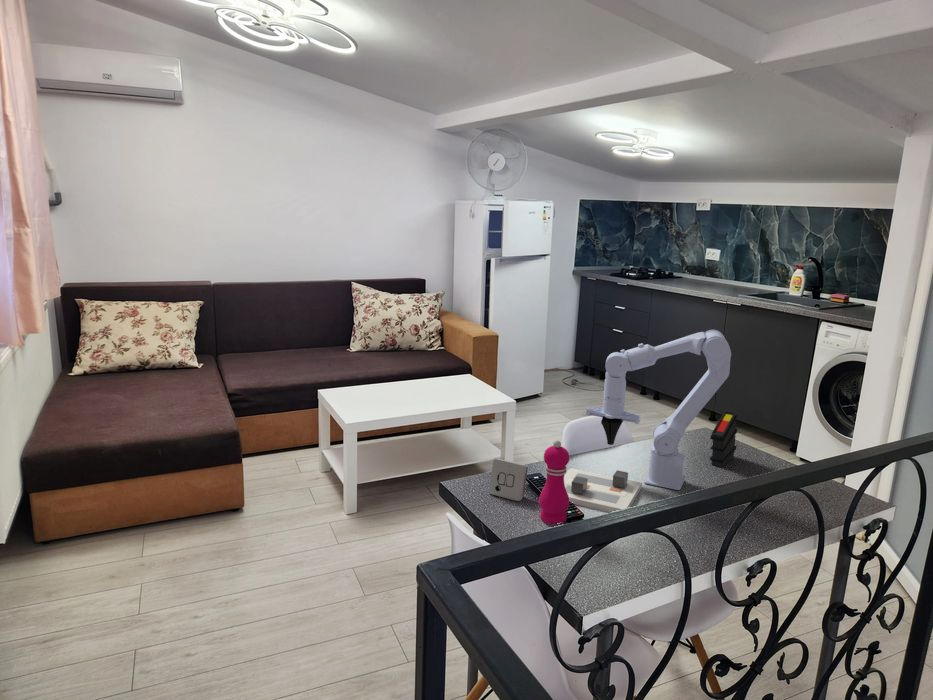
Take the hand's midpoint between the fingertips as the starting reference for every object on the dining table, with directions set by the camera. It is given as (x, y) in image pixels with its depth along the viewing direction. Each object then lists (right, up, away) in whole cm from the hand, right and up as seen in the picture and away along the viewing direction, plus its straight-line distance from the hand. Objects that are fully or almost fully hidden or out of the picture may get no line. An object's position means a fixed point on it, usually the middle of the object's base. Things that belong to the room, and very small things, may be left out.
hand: (610, 443), depth 182 cm
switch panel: (-6, -12, -9) cm, 16 cm away
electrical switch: (-29, -12, -11) cm, 33 cm away
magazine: (+36, -8, +13) cm, 39 cm away
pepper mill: (-19, -15, -24) cm, 34 cm away
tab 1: (-11, -10, -12) cm, 19 cm away
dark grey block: (+1, -10, -8) cm, 12 cm away
